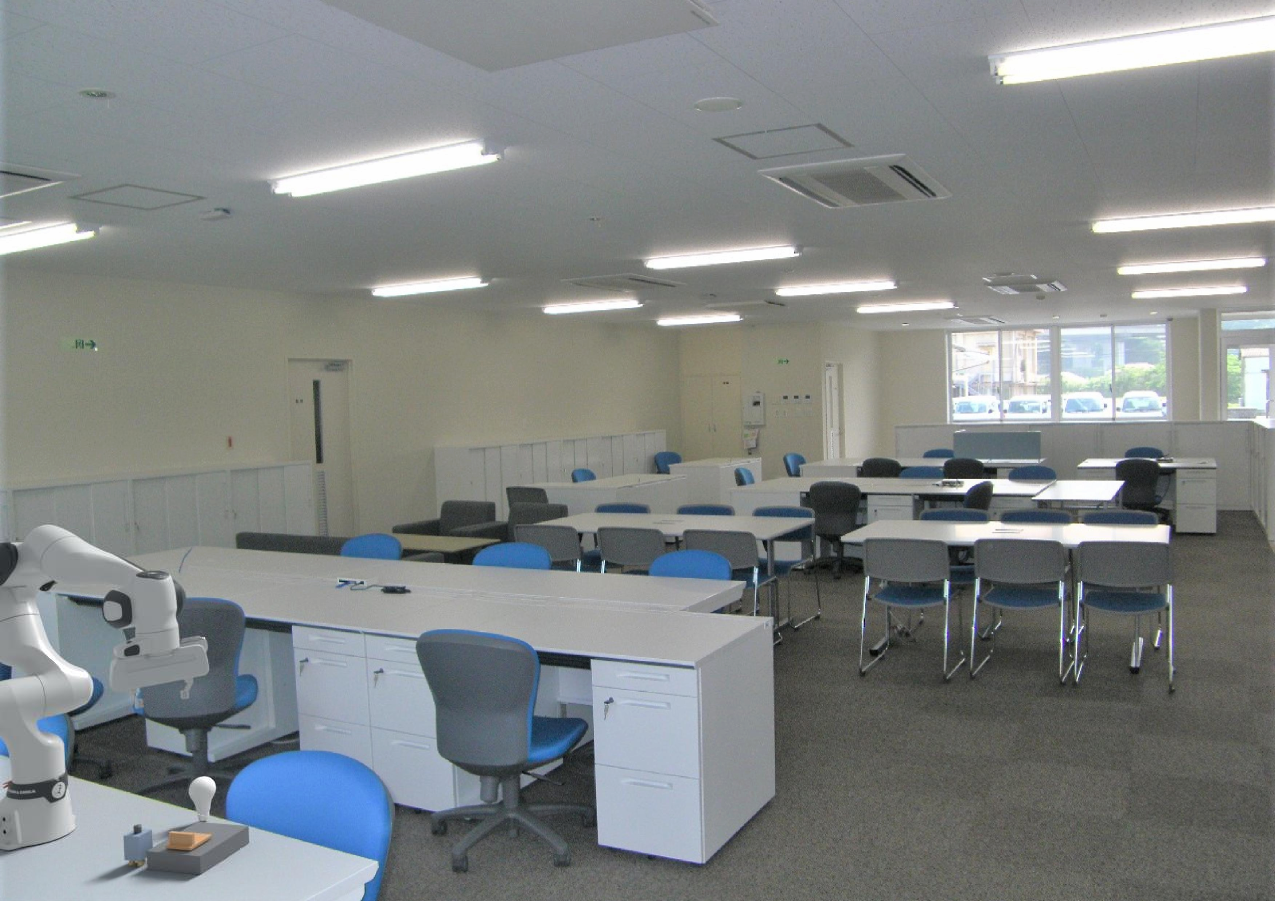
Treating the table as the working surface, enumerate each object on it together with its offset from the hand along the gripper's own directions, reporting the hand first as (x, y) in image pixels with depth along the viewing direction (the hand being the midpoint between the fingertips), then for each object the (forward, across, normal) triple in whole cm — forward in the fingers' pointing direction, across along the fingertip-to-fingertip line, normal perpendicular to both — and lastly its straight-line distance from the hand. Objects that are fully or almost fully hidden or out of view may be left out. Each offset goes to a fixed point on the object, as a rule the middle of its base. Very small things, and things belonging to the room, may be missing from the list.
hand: (162, 702), depth 216 cm
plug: (+35, +7, -1) cm, 35 cm away
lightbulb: (+35, -10, -16) cm, 39 cm away
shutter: (+31, -2, +6) cm, 31 cm away
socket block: (+35, -4, +4) cm, 36 cm away
